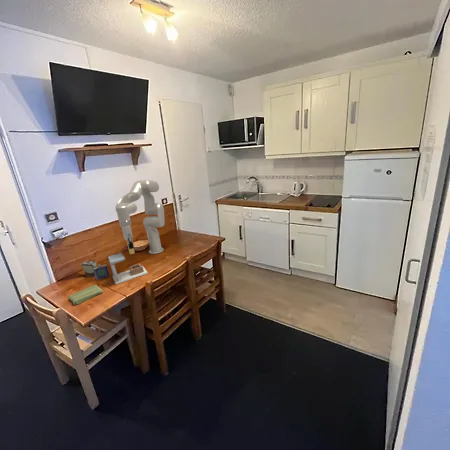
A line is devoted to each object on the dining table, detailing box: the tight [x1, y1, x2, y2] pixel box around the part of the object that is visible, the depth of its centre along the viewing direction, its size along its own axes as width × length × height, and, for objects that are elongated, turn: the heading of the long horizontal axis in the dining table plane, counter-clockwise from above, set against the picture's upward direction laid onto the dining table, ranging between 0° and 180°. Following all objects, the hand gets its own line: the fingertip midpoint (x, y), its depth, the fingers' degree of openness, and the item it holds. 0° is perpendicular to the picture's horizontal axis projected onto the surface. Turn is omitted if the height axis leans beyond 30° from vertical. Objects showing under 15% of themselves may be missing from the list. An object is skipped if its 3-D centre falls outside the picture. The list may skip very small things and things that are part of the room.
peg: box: [126, 240, 135, 255], centre depth 177 cm, size 4×4×12 cm
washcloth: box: [68, 284, 104, 306], centre depth 159 cm, size 13×18×3 cm
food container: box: [80, 260, 98, 278], centre depth 187 cm, size 12×6×10 cm, turn 71°
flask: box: [93, 263, 111, 281], centre depth 179 cm, size 9×3×11 cm, turn 121°
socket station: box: [107, 252, 149, 285], centre depth 178 cm, size 14×22×16 cm, turn 122°
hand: (130, 247), depth 178 cm, fingers closed on peg, 3 cm apart
